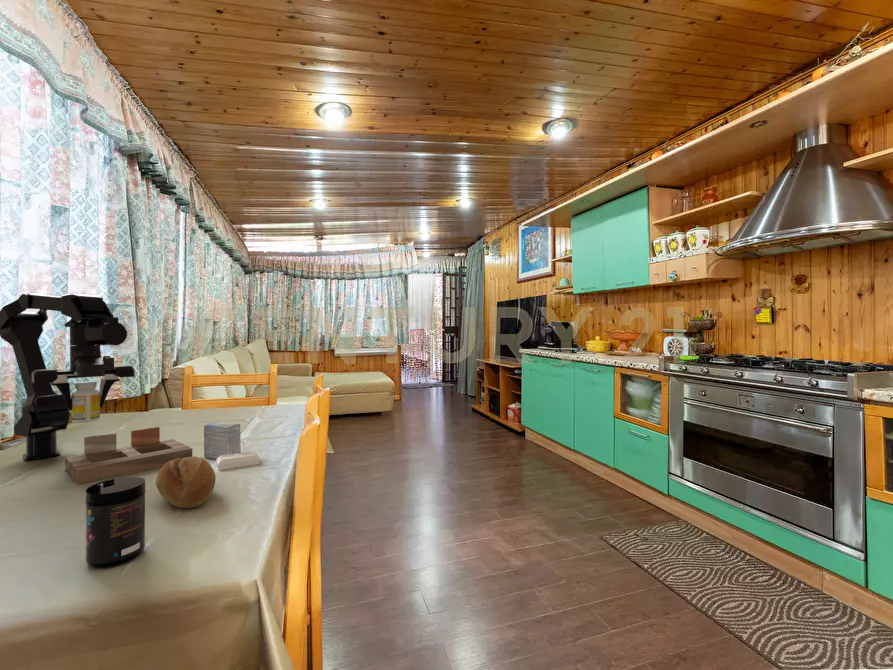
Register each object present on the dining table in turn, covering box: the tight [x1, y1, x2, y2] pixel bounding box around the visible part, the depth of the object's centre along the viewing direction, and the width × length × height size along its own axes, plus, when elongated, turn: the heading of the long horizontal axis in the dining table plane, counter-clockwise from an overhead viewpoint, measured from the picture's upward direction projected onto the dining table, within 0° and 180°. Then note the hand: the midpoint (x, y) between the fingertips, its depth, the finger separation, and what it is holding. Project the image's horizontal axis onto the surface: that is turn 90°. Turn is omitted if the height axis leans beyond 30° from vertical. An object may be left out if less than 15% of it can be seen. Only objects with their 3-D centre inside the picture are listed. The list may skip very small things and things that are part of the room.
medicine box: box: [203, 421, 242, 460], centre depth 108 cm, size 8×4×9 cm, turn 71°
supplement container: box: [85, 476, 146, 569], centre depth 60 cm, size 7×7×10 cm
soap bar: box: [215, 450, 261, 471], centre depth 102 cm, size 5×9×3 cm, turn 122°
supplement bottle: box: [70, 380, 101, 424], centre depth 103 cm, size 5×5×10 cm
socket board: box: [64, 426, 193, 485], centre depth 102 cm, size 14×22×7 cm, turn 140°
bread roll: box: [155, 456, 216, 509], centre depth 81 cm, size 10×15×8 cm, turn 41°
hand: (86, 408), depth 103 cm, fingers closed on supplement bottle, 5 cm apart
